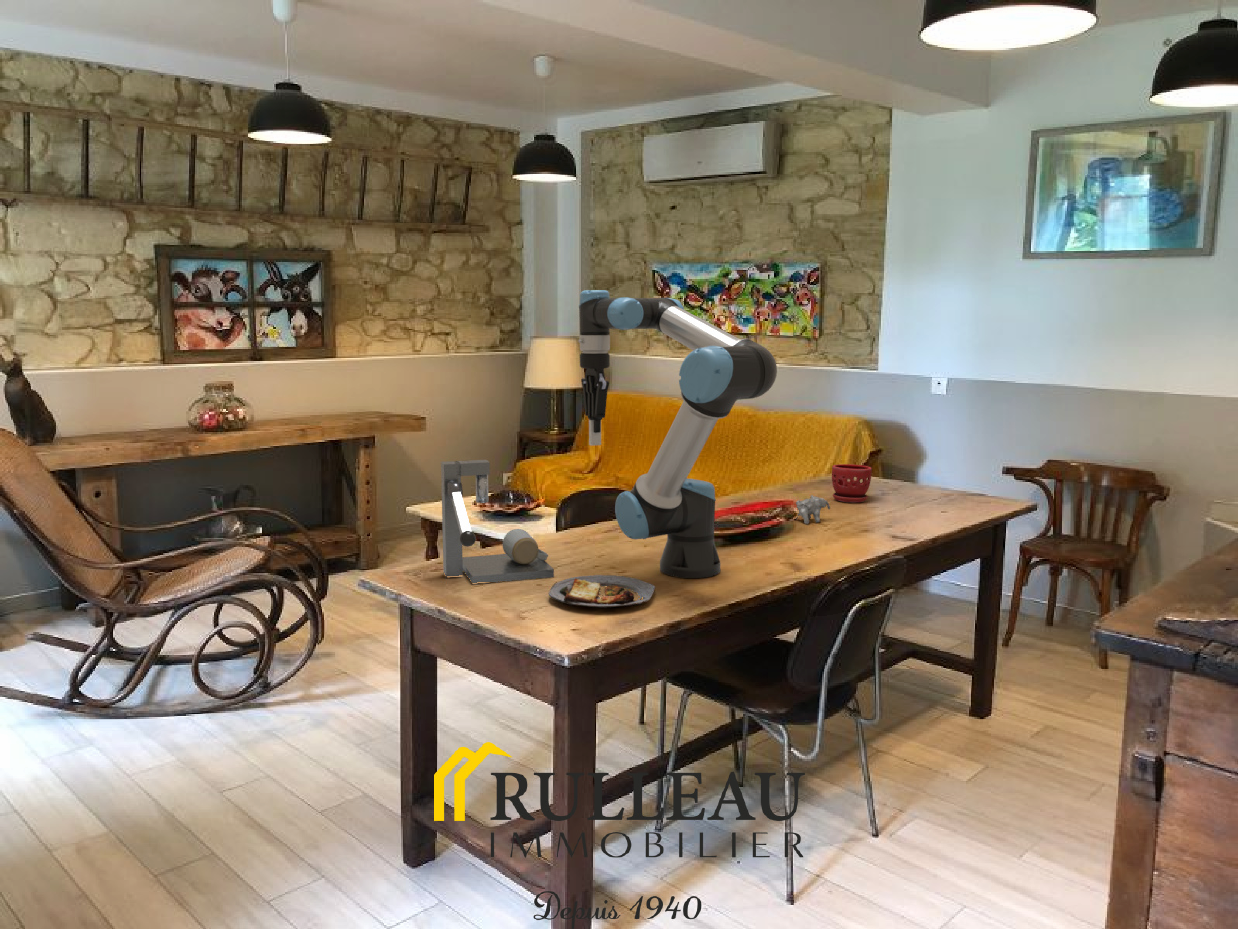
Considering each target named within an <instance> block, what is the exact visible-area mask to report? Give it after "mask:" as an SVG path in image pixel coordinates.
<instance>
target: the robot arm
mask: <svg viewBox="0 0 1238 929" xmlns="http://www.w3.org/2000/svg"><path fill="white" fill-rule="evenodd" d="M578 308H579V310H578V311H579V339H578V340H577V342H578V343H579V350H580V351H581V353H580V354H579V367H580V368H581V369H585V374H584V375H585V376H584V378H583V377H581V380H580V382H581V386H582V391H583V392H582V393H583V394H582V395H583V403H584V404H583V405H584V415H585V416H586V417H587V419H588V437H589V438H588V445H589V446H591V447H592V446H601V445H602V420H603V419H605V418H606V409H607V398H608V389H609V387H610V381H609V380H606V376H605V370H604V369H608V368H610V366H611V365H610V361H611V360H610V358H611V356H610V353H609V351H610V349H611V335H610V333H611V332H610V329H613V330H622V331H626V330H627V331H628V330H644V329H645V330H646V329H647V330H648V329H649V330H656V331H659V332H660V333H662V334H664V335H665V336H668V337H669V338H670V339H672V340H675V341H677V342H678V343H680V344H681V345H683V346H685V347H686V348H688V349H690V350H692V351H690V353H688V354H687V355H686V357H685V358H684V360H683V361H682V363H681V365H680V368H679V371H678V372H679V373H678V376H679V377H680V379H678V383H679V388H680V395H681V396H680V397H681V399H682V400H683V401H682V404H681V406H680V408H679V410H678V411H677V414H676V415H675V418H674V420H673V421H672V424H671V426H670V428H668V429H669V430H668V432H667V434H666V435H665V437H664V439H663V442H662V444H661V446H660V448H659V449H658V451H657V454H656V455H655V457H654V460H653V461H652V463H651V465H650V468H649V470H648V472H647V473H644V474H641V475H640V476H639V477H638V478H637V479H636V481H635V483H634V485H633V486H632V489H631V490H625V491H623V492H621V493H619V495H618V496H617V497H616V499H615V504H614V505H615V507H614V510H615V511H614V512H615V518H616V521H617V524H618V526H619V528H620V530H621V531H622V533H623V534H624V536H627V538H629V539H631V540H646V539H651V538H655V537H661V536H667V538H666V542H665V546H664V548H663V551H662V554H661V556H660V561H659V571H660V572H661V573H663V574H665V575H667V576H671V577H675V578H680V579H681V578H683V579H704V578H710V577H714V576H717V575H718V574H720V572H721V560H720V556H719V554H718V550H717V547H716V543H715V517H716V516H715V515H716V513H715V512H716V490H715V485H714V484H713V483H711V482H709V481H704V480H700V479H696V478H695V479H694V478H688V476H689V474H690V473H691V470H692V469H693V467H694V465H695V463H696V462H697V459H698V458H699V456H700V454H701V452H702V450H703V448H704V446H705V444H706V443H707V441H708V438H709V436H710V435H711V433H712V431H713V429H714V427H715V426H716V424H717V422H718V420H719V419H724V418H726V417H728V416H729V414H730V412H731V410H732V409H733V407H734V405H735V403H736V401H738V400H751V399H755V398H759V397H761V396H763V395H765V394H766V393H767V392H768V391H770V390H771V388H772V387H773V385H774V383H775V382H776V378H777V374H778V368H777V367H778V365H777V362H776V358H775V357H774V355H773V353H771V352H770V350H769V349H768V348H766V347H765V346H763V345H761V344H759V343H757V342H756V341H754V340H752V339H749V338H742V339H741V338H738V337H736V336H735V335H733V334H731V333H728V332H727V331H725V330H723V329H721V328H719V327H717V326H716V325H714V324H712V323H710V322H708V321H706V320H704V319H702V318H700V317H698V316H696V315H694V314H693V313H691V312H689V311H688V310H686V309H684V305H683V304H682V302H681V301H680V300H679V299H677V298H676V299H675V298H669V297H654V298H653V297H626V296H625V297H623V296H622V297H610V291H608V290H604V289H603V290H601V289H598V290H596V289H592V290H589V289H586V290H583V291H581V292H580V294H579V305H578ZM713 575H714V576H713Z"/></svg>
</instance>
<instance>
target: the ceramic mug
mask: <svg viewBox="0 0 1238 929" xmlns="http://www.w3.org/2000/svg"><path fill="white" fill-rule="evenodd" d="M502 549H503V552H504V554H506V555H508V556H509V557H510V558H511V559H512V560H514V561H515V562H517V563H519V564H529V563H531V562H533V561H534V560H535V559H536V558H538V559H540V560H545V561H547V559H548V558H549V554H548V553H547V552H545V551H543V550H542V549H540V548H539V545H538V543H537V541H536V539H535V538H533V536H532V535H530V534H529V533H528V531H526V529H525V530H524V529H522V528H514V529H510V530H509V531H508V532H507V533H506V534H505V535H504V537H503V540H502Z"/></svg>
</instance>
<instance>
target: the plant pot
mask: <svg viewBox="0 0 1238 929" xmlns="http://www.w3.org/2000/svg"><path fill="white" fill-rule="evenodd" d="M831 468H832V469H831V483H832V488H833V490H834V493H832V497H833V498H834V500H836V501H838V502H842V503H848V504H854V503H855V504H858V503H863V502H865V501H867V499H868V497H869V496H868V495H867V492H868V491H869V488H870V486H871V479H872V474H873V473H872V472H873V471H872V467H871V466H869V465H868V466H867V465H861V464H853V463H852V464H849V463H848V464H845V463H841V464H833V465H832V466H831ZM855 478H856V480H855ZM861 480H862V482H861Z"/></svg>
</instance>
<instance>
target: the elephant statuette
mask: <svg viewBox="0 0 1238 929" xmlns="http://www.w3.org/2000/svg"><path fill="white" fill-rule="evenodd" d="M795 504H796V507H797V508H798V510H799V514H798V517H797V518H796V520H798V518H799V517H800V516H801V519H803V522H804V524H805V525H809V523H810V520H811V519H812V516H813V519H814V522H815V523H816V524H819V523H820V522H821V519H820V518H821V511H822V508H824V509H825V507H827V509H828V510H830V509H831V505H830V504H829V501H828V500H826V499H825V498H823V497H819V496H815V495H813V494H811V495H810V498H805V499H803V500H800V499H799V500H797V501H795ZM811 515H812V516H811Z"/></svg>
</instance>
